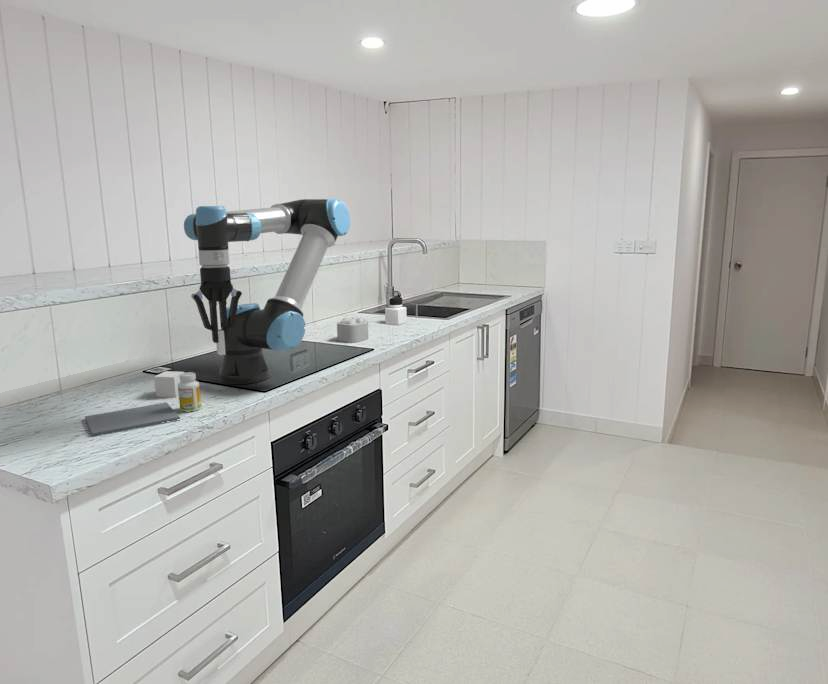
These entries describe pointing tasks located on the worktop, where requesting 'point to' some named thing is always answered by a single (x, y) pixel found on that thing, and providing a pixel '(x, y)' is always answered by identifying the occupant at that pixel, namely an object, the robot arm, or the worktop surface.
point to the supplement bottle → (189, 392)
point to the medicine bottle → (395, 312)
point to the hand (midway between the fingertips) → (221, 353)
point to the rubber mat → (130, 418)
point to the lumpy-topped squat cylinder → (352, 330)
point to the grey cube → (167, 384)
